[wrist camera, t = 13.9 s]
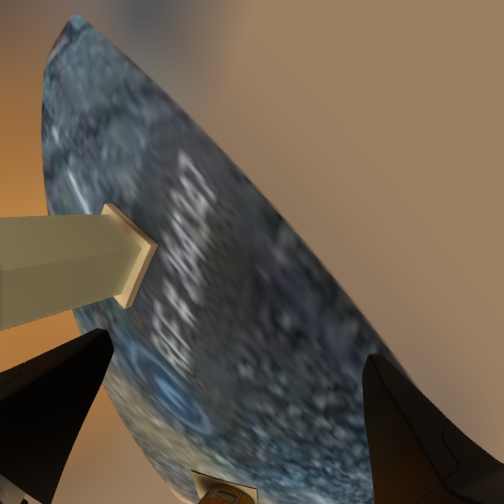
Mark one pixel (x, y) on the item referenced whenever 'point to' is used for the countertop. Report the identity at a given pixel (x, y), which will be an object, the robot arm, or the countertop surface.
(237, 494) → the condiment
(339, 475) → the countertop surface
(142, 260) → the square plate with knob
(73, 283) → the tan rectangular pillar
